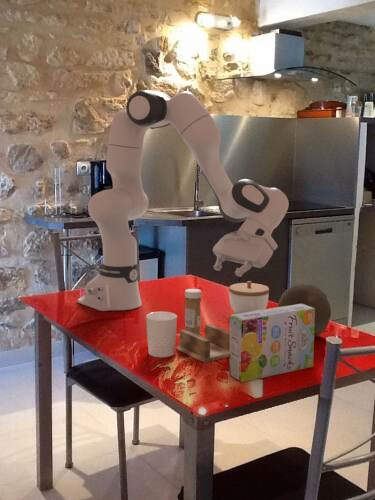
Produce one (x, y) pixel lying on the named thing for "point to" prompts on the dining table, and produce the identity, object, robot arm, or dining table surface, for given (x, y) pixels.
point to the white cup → (161, 333)
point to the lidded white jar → (248, 297)
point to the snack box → (271, 341)
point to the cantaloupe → (309, 303)
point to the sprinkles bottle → (192, 311)
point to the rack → (206, 344)
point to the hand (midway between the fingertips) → (226, 272)
